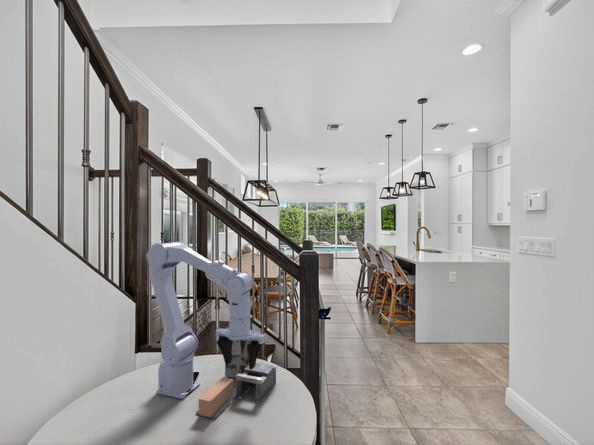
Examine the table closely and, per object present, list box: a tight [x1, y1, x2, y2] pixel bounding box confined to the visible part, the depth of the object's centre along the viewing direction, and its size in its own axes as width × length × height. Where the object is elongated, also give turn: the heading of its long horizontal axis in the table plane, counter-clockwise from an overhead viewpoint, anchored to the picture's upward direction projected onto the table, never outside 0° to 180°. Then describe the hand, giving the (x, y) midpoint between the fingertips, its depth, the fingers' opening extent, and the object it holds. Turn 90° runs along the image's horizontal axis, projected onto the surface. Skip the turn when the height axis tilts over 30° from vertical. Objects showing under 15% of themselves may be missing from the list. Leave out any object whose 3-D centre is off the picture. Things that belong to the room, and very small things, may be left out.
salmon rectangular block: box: [198, 377, 234, 418], centre depth 82 cm, size 4×11×4 cm, turn 161°
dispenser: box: [235, 362, 277, 403], centre depth 89 cm, size 8×11×6 cm
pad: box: [195, 389, 237, 420], centre depth 83 cm, size 6×12×1 cm, turn 161°
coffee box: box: [224, 319, 253, 379], centre depth 100 cm, size 9×6×16 cm
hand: (240, 365), depth 84 cm, fingers open, 7 cm apart
